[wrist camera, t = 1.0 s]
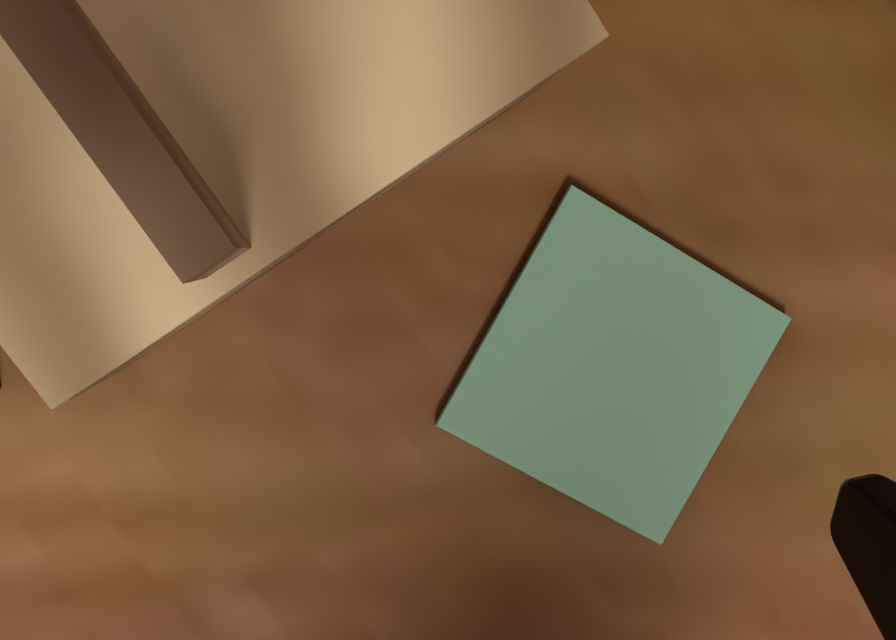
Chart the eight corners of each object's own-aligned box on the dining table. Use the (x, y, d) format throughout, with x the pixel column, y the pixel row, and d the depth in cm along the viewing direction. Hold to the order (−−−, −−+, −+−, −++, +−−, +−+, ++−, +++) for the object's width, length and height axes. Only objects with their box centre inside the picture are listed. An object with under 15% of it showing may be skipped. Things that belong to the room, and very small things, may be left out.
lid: (64, 402, 18) (2, 437, 14) (-204, 60, 16) (-337, 16, 13) (597, 44, 18) (648, 3, 15) (384, -313, 17) (392, -440, 14)
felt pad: (657, 541, 24) (661, 545, 24) (435, 423, 23) (436, 425, 22) (785, 317, 24) (791, 318, 23) (568, 185, 22) (571, 185, 22)
